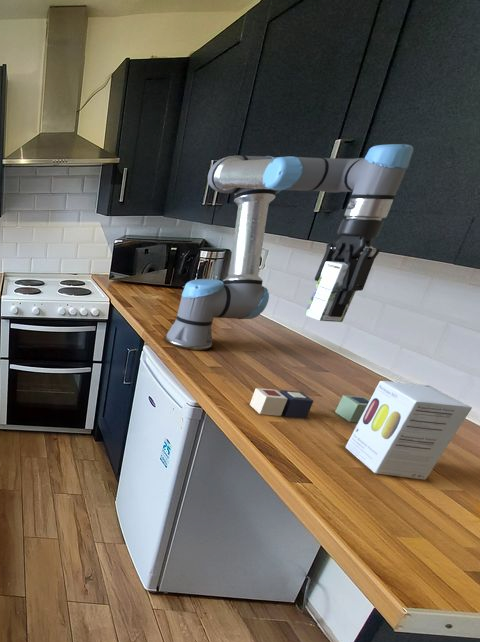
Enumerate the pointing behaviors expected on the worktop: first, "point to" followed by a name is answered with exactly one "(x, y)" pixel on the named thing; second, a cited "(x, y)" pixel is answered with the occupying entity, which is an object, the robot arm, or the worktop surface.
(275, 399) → the block
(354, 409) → the block
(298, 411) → the block
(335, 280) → the syrup box
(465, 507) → the worktop surface
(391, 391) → the supplement box
